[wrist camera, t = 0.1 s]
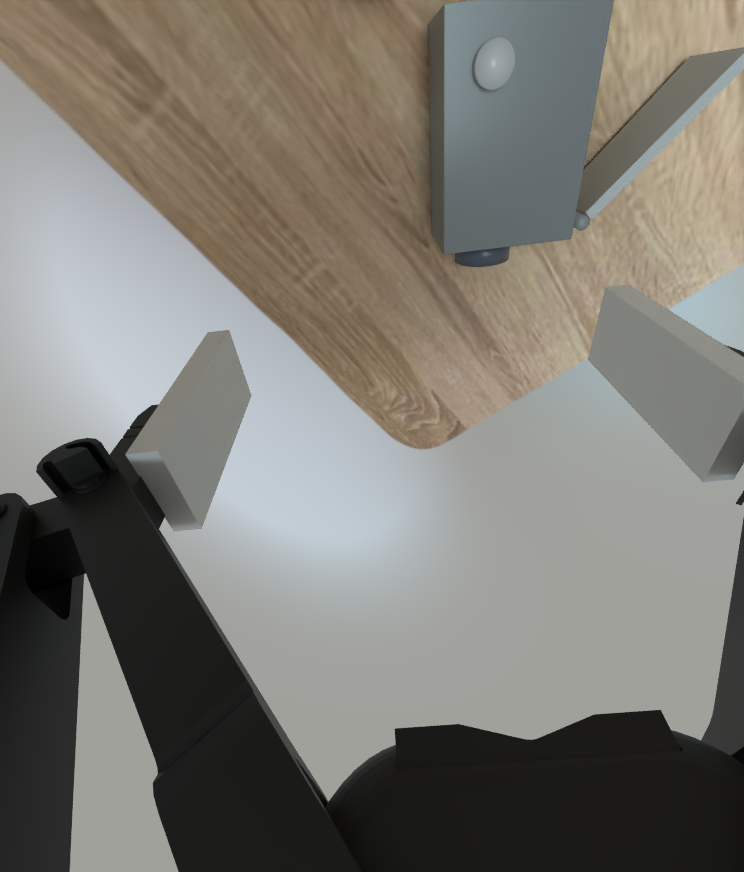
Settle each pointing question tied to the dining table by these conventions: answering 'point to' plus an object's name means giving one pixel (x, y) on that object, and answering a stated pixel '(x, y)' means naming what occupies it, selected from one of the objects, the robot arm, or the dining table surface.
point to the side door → (654, 128)
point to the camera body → (510, 120)
